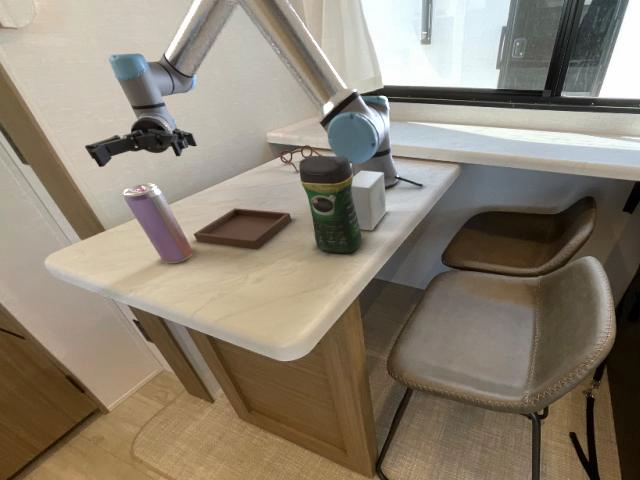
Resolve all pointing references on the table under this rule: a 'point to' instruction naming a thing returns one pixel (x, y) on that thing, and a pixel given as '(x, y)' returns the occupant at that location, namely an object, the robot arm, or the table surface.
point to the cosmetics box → (369, 198)
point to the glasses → (296, 152)
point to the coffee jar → (331, 202)
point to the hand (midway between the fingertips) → (137, 154)
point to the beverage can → (158, 222)
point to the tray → (243, 228)
